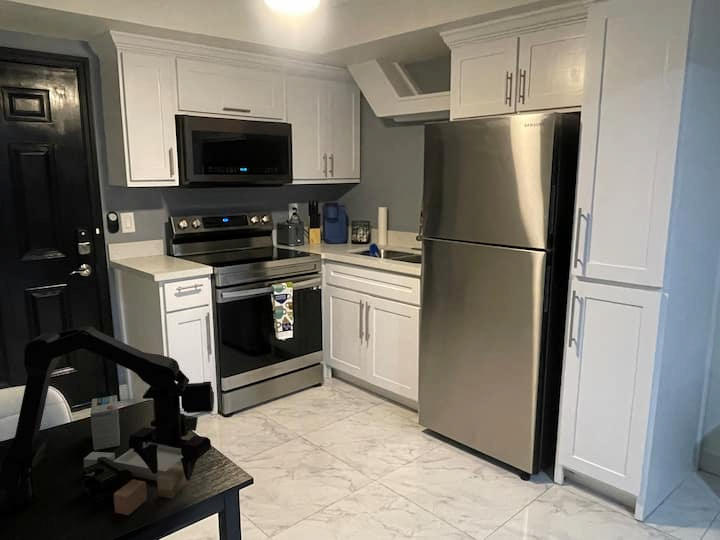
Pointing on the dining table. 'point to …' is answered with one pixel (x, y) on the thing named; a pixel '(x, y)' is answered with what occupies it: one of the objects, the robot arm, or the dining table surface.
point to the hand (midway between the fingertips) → (171, 476)
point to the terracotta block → (130, 497)
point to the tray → (141, 470)
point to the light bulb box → (105, 422)
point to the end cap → (105, 479)
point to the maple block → (171, 481)
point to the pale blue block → (93, 459)
